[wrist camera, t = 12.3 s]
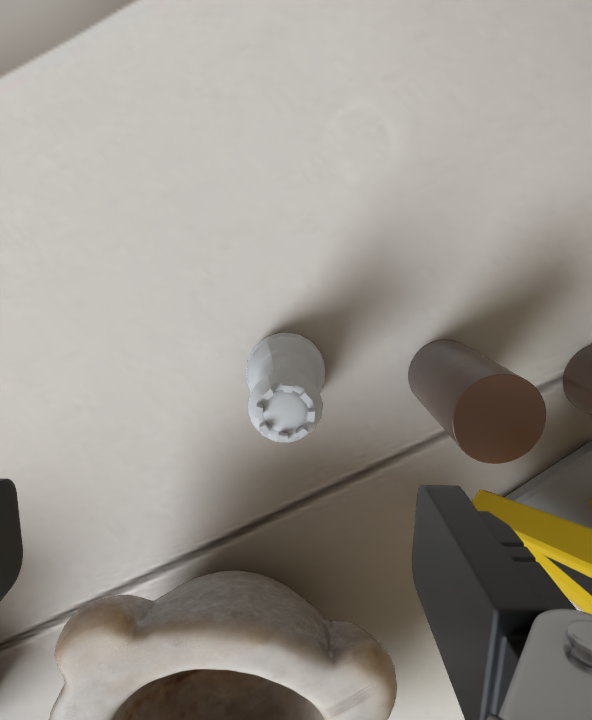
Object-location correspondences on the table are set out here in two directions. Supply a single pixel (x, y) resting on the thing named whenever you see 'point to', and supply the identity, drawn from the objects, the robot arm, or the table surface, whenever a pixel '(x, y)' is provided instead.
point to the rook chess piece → (285, 387)
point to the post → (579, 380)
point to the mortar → (219, 657)
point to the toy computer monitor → (554, 521)
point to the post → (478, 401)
